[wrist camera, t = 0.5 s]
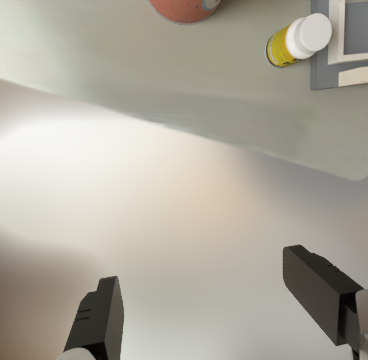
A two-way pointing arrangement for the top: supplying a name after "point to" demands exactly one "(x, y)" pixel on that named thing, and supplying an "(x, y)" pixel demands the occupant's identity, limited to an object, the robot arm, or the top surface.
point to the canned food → (184, 10)
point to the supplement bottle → (298, 40)
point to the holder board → (342, 45)
